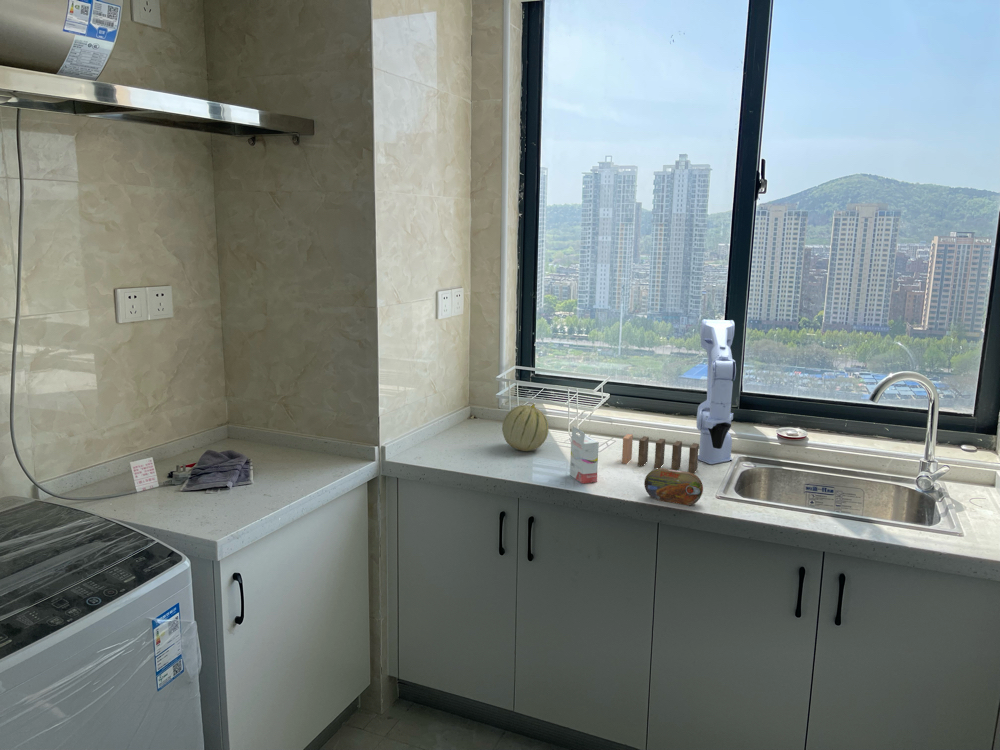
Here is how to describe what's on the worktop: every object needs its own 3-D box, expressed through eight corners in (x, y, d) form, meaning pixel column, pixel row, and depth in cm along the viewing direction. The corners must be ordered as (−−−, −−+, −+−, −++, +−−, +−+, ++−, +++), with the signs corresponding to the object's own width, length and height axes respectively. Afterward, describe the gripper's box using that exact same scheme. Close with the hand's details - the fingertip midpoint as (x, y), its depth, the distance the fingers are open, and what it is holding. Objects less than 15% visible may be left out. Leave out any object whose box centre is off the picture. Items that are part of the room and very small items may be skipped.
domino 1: (631, 459, 227) (632, 434, 226) (626, 464, 223) (628, 438, 221) (626, 458, 228) (627, 433, 226) (621, 463, 223) (623, 437, 222)
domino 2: (647, 462, 225) (648, 436, 223) (643, 466, 221) (644, 440, 219) (642, 461, 226) (643, 436, 224) (637, 465, 221) (639, 440, 220)
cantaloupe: (492, 450, 235) (493, 404, 232) (521, 440, 245) (522, 397, 242) (528, 460, 225) (529, 412, 222) (557, 450, 236) (558, 404, 233)
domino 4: (680, 467, 221) (682, 441, 219) (676, 471, 216) (678, 445, 215) (675, 466, 221) (676, 440, 220) (671, 470, 217) (672, 444, 215)
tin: (643, 497, 195) (644, 467, 193) (646, 494, 198) (648, 464, 196) (700, 508, 188) (702, 477, 186) (703, 504, 191) (705, 473, 189)
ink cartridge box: (598, 482, 206) (600, 431, 203) (582, 484, 204) (584, 433, 201) (584, 473, 214) (586, 424, 211) (568, 474, 212) (570, 425, 209)
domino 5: (697, 469, 218) (698, 443, 217) (693, 474, 214) (695, 448, 213) (691, 468, 219) (693, 443, 218) (687, 473, 215) (689, 447, 213)
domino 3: (663, 464, 223) (665, 439, 221) (659, 469, 218) (661, 443, 217) (658, 463, 224) (660, 438, 222) (654, 468, 219) (655, 442, 218)
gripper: (718, 395, 218) (715, 440, 220) (696, 403, 207) (692, 450, 209) (741, 399, 213) (737, 444, 216) (719, 407, 202) (716, 455, 205)
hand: (717, 447), depth 212 cm, fingers closed
